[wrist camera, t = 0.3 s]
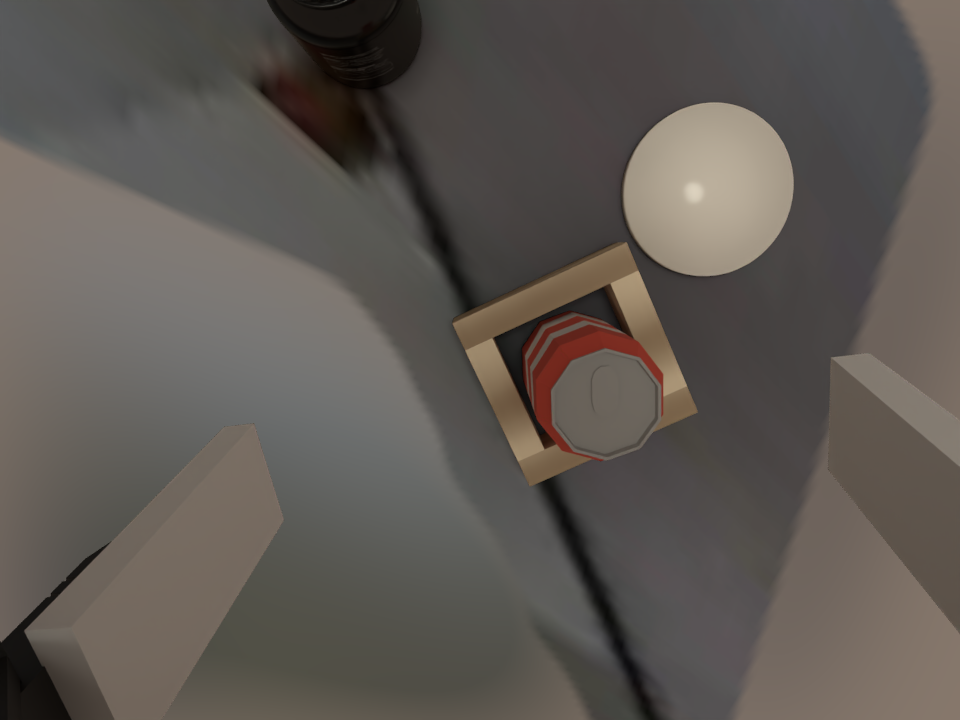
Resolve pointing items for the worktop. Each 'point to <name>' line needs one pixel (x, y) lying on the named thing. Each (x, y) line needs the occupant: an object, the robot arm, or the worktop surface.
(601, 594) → the worktop surface
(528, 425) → the oak holder
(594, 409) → the beverage can
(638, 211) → the coaster
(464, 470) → the worktop surface
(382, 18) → the supplement bottle
